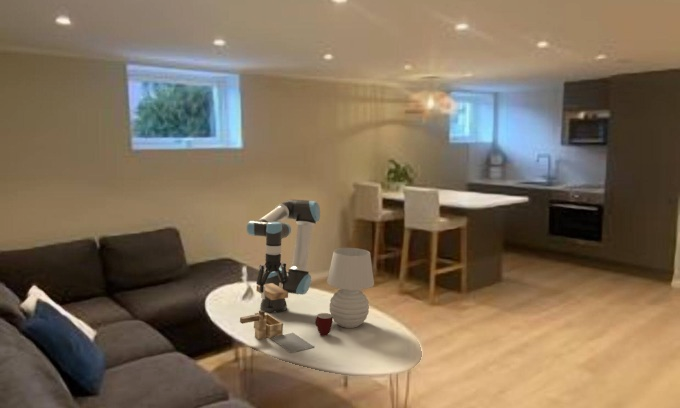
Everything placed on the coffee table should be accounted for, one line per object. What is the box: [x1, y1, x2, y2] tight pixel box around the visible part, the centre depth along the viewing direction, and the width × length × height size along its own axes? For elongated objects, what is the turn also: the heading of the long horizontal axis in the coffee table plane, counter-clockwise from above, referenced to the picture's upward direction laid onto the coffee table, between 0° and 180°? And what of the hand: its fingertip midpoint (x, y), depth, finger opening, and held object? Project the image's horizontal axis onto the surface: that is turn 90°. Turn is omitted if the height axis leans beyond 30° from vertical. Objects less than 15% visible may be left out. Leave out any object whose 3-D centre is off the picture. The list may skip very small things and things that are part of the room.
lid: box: [256, 283, 289, 300], centre depth 257 cm, size 9×17×3 cm, turn 34°
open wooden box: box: [253, 312, 284, 340], centre depth 261 cm, size 13×16×12 cm
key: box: [239, 309, 266, 324], centre depth 250 cm, size 12×2×4 cm, turn 126°
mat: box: [270, 332, 315, 354], centre depth 250 cm, size 13×20×1 cm, turn 36°
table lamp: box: [326, 247, 375, 329], centre depth 275 cm, size 25×25×40 cm
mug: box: [314, 312, 334, 337], centre depth 262 cm, size 11×8×10 cm
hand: (271, 297), depth 258 cm, fingers closed on lid, 9 cm apart
